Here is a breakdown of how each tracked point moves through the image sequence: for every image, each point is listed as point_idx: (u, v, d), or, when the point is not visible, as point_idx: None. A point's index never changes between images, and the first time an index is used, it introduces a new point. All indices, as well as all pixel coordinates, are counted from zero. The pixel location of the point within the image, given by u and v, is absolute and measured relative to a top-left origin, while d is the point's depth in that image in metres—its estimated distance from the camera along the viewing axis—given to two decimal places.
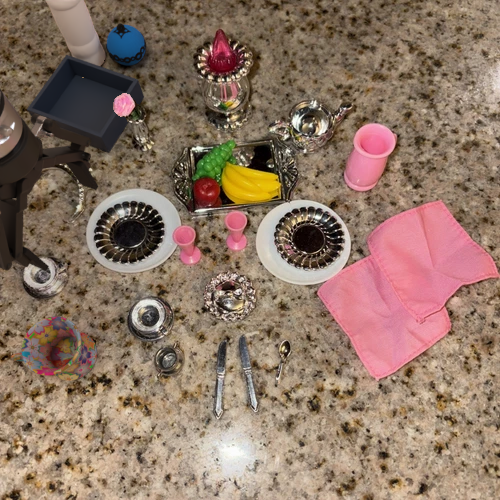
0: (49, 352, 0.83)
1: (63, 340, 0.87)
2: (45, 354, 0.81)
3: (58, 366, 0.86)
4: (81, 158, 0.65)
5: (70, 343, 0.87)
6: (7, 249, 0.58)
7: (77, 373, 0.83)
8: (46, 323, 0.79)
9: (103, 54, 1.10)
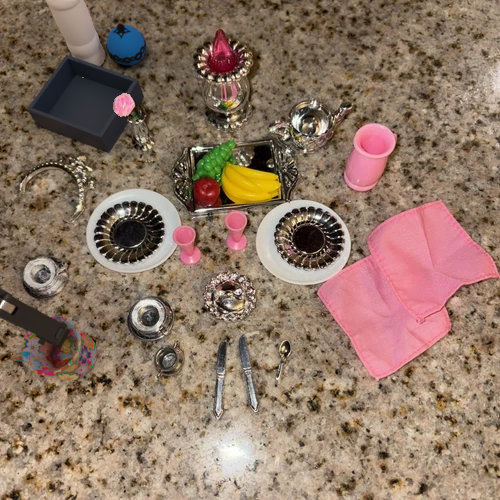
0: (49, 352, 0.83)
1: None
2: (45, 354, 0.81)
3: (58, 366, 0.86)
4: None
5: (70, 343, 0.87)
6: None
7: (77, 373, 0.83)
8: None
9: (103, 54, 1.10)
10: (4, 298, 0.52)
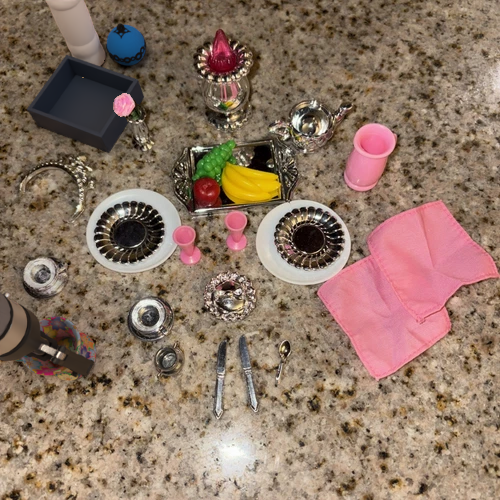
0: None
1: (62, 340, 0.87)
2: None
3: (57, 366, 0.86)
4: None
5: (70, 343, 0.87)
6: None
7: None
8: (45, 323, 0.79)
9: (103, 54, 1.10)
10: (61, 350, 0.69)
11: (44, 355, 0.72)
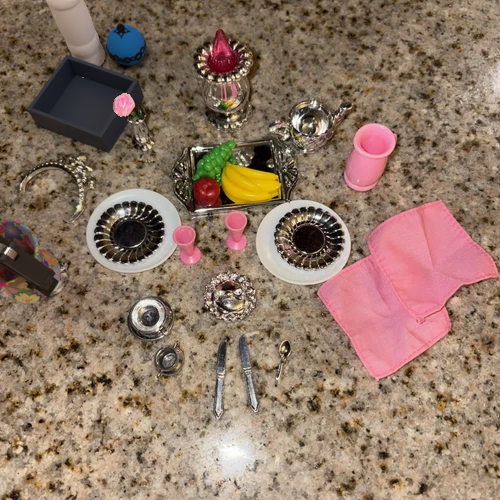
0: (2, 269, 0.70)
1: None
2: None
3: None
4: None
5: None
6: None
7: (37, 293, 0.71)
8: None
9: (103, 54, 1.10)
10: (10, 246, 0.56)
11: None
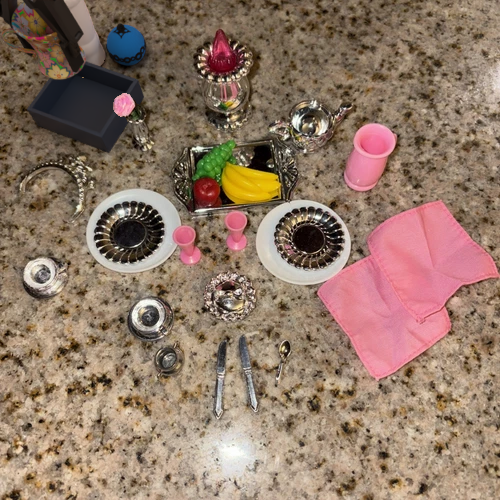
0: None
1: None
2: None
3: None
4: None
5: None
6: None
7: (67, 68, 0.86)
8: None
9: (103, 54, 1.10)
10: None
11: (34, 2, 0.74)
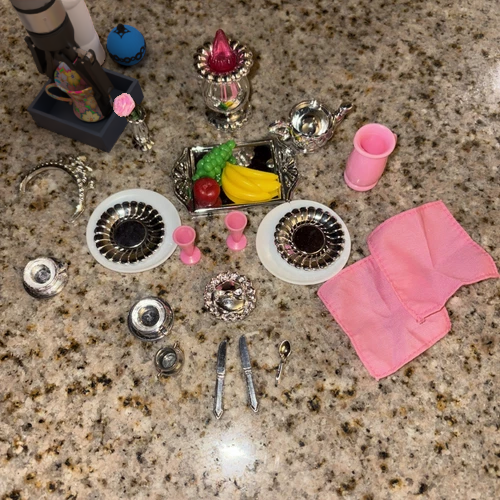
0: None
1: None
2: None
3: None
4: None
5: None
6: None
7: (98, 113, 1.03)
8: None
9: (103, 54, 1.10)
10: (90, 51, 0.88)
11: (75, 65, 0.91)
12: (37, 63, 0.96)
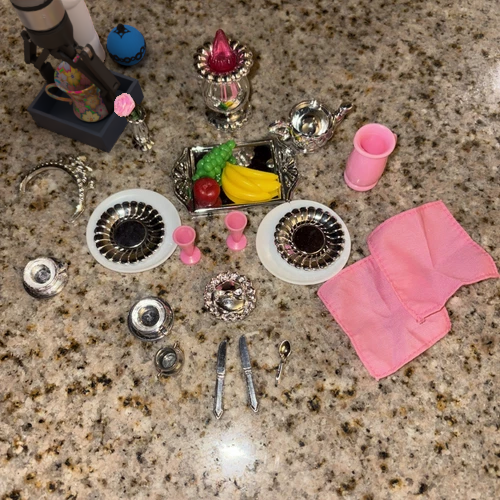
0: None
1: None
2: None
3: None
4: None
5: None
6: None
7: (98, 113, 1.03)
8: None
9: (103, 54, 1.10)
10: (87, 46, 0.87)
11: (76, 62, 0.90)
12: (26, 54, 0.94)
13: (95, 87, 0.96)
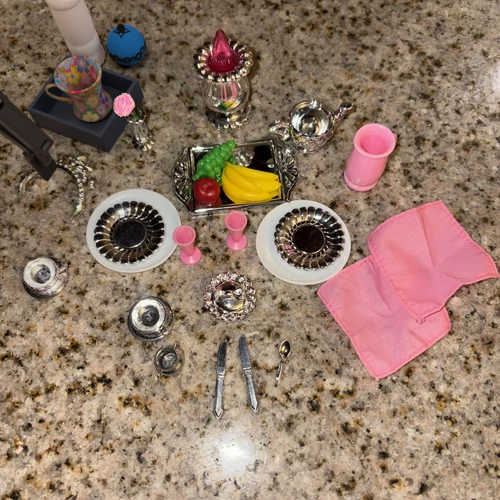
0: None
1: None
2: None
3: None
4: None
5: None
6: None
7: (98, 113, 1.03)
8: (72, 62, 0.98)
9: (103, 54, 1.10)
10: None
11: None
12: None
13: (95, 87, 0.96)
